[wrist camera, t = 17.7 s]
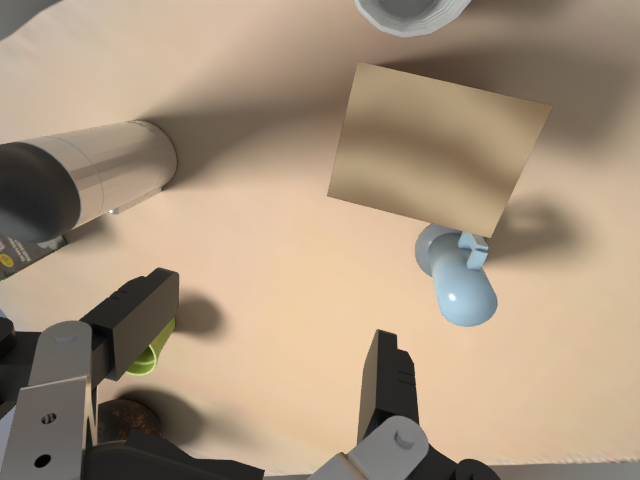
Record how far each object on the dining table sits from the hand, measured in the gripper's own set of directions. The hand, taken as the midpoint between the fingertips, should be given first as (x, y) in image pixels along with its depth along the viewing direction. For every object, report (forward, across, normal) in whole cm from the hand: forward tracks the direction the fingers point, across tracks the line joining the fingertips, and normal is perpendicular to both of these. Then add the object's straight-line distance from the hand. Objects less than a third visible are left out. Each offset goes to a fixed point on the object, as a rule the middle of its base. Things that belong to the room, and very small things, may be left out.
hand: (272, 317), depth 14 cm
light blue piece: (+34, -16, +8) cm, 38 cm away
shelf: (+34, -7, -4) cm, 35 cm away
